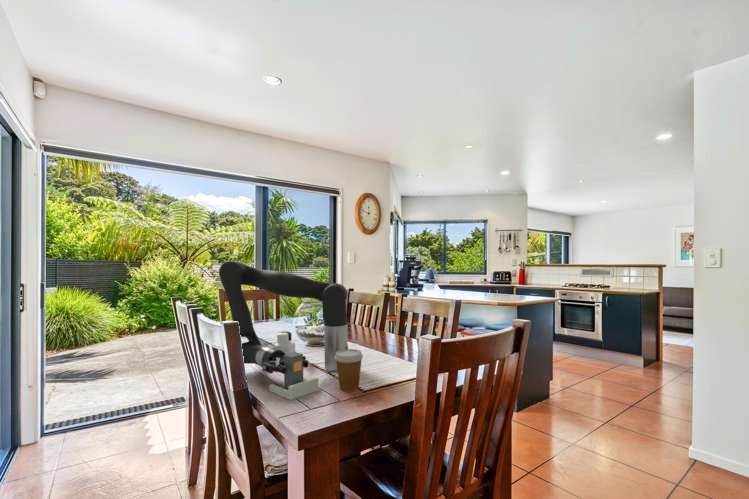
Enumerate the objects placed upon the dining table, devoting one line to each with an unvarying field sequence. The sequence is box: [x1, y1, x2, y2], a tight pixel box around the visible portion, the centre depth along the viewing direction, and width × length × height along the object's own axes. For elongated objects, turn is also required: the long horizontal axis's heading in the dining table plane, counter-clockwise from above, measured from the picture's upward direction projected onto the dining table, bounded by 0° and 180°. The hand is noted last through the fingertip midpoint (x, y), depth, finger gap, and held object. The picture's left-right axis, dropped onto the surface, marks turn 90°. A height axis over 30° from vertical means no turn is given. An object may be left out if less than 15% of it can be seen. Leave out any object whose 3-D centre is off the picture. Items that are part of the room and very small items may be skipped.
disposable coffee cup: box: [335, 348, 364, 393], centre depth 125 cm, size 10×10×12 cm
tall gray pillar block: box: [283, 351, 304, 390], centre depth 124 cm, size 5×4×12 cm
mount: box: [269, 377, 320, 401], centre depth 124 cm, size 12×11×4 cm
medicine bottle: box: [272, 331, 296, 354], centre depth 160 cm, size 7×7×12 cm
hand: (296, 367), depth 123 cm, fingers open, 8 cm apart
